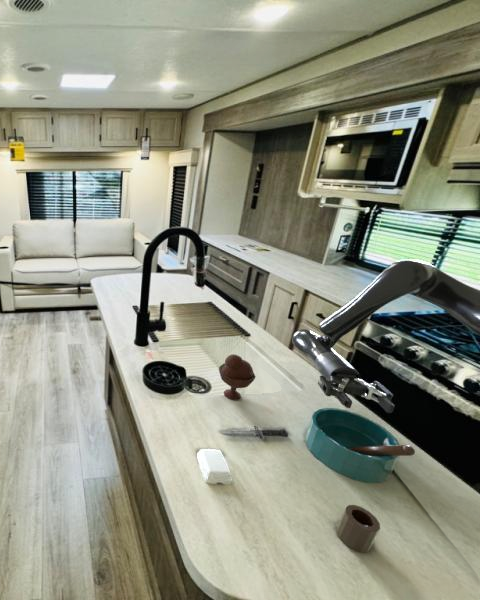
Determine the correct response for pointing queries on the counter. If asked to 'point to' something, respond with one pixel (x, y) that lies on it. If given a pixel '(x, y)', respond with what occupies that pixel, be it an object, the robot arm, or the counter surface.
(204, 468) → the soap
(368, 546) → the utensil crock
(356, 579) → the counter surface
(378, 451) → the brown rounded rod
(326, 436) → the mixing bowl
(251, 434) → the knife
